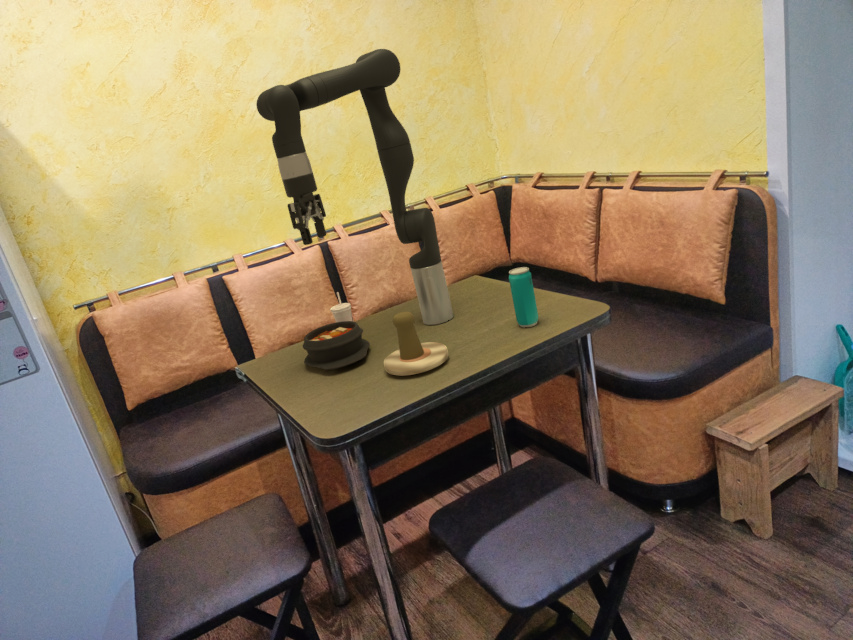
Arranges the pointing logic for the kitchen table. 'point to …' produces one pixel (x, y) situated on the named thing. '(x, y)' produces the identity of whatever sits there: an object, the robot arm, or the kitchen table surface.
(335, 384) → the kitchen table surface
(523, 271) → the beverage can
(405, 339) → the brown pepper shaker
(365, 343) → the casserole
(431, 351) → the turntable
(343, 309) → the smoothie
